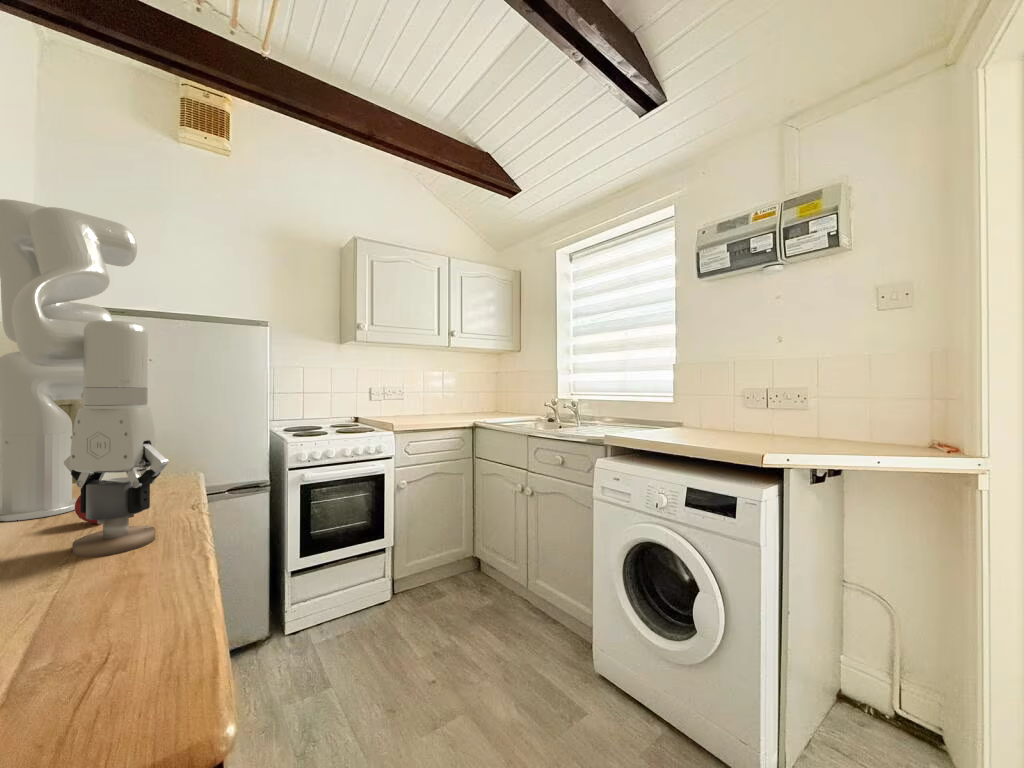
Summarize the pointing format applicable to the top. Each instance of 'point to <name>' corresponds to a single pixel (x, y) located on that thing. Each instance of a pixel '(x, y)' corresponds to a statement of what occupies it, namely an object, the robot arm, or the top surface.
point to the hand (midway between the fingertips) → (115, 509)
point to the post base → (114, 538)
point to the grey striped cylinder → (107, 499)
